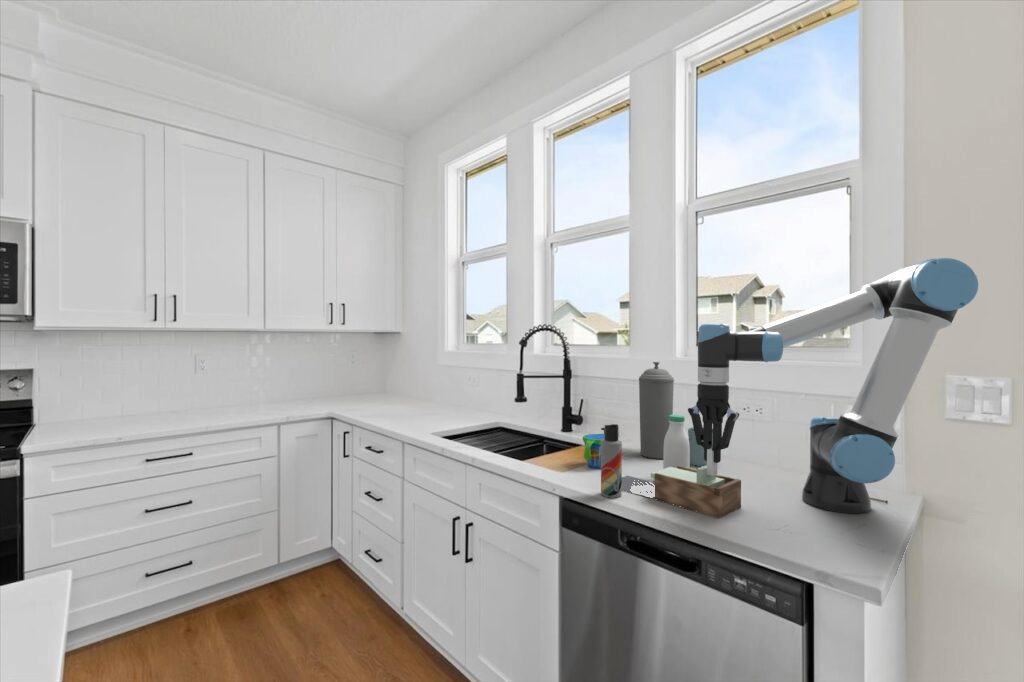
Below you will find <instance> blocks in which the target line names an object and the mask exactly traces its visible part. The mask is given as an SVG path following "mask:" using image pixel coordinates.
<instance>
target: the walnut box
mask: <svg viewBox="0 0 1024 682" xmlns="http://www.w3.org/2000/svg"><path fill="white" fill-rule="evenodd" d="M677 468H678V469H682V470H687V471H691V472H695V473H697V469H694V468H691V467H690V468H686V467H681V466H677ZM716 477H717V478H721V479H725V484H723V485H721V486H718V487H716V488H714V487H710V486H706V485H702V484H698V483H694V482H690V481H686V480H682V479H678V478H674V477H670V476H666V475H662V474H658V473H655V478H654V483H655V497H654V500H655V499H657V500H656V501H658V500H660V501H659V502H662V501H664V502H663V503H665V502H667V503H666V504H668V503H670V504H669V505H672V504H674V505H673V506H675V505H677V506H676V507H678V506H681V507H680V508H682V507H684V508H683V509H685V508H687V509H686V510H688V509H690V510H689V511H692V510H693V511H692V512H695V511H697V512H696V513H699V512H700V513H699V514H702V513H703V514H702V515H705V514H707V515H706V516H709V515H710V516H709V517H712V516H714V517H713V518H715V517H717V518H716V519H720V518H723V517H724V516H726V515H728V514H731V513H732V512H734V511H736V510H738V509H740V508H742V479H738V478H733V477H729V476H725V475H719V474H718V473H717V474H716Z"/></svg>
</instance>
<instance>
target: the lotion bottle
mask: <svg viewBox="0 0 1024 682" xmlns="http://www.w3.org/2000/svg"><path fill="white" fill-rule="evenodd" d="M603 432H604V433H603V434H604V439H605V440H602V441H601V468H600V494H601V496H603V497H605V498H608V497H610V498H609V499H616V498H615V497H617V498H620V497H622V477H623V473H622V471H623V469H622V468H623V467H622V466H623V464H622V463H623V460H622V459H623V457H622V455H623V453H622V452H623V448H622V447H623V444H622V443H623V442H622V441H621V440H619V424H618V423H617V424H615V423H611V424H605V425H604V431H603Z"/></svg>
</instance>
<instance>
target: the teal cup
mask: <svg viewBox="0 0 1024 682" xmlns="http://www.w3.org/2000/svg"><path fill="white" fill-rule="evenodd" d="M687 433H688V434H687V436H688V439H689V445H690V463H691V464H690V465H692V464H693V465H692V466H694V465H697V466H696V467H699V466H706V465H707V461H705V460H704V448H703V447H702V446H701V445H698V444H697V442H696V437H695V432H694V428H693V426H692V427H688V428H687ZM712 445H713V428H712ZM711 448H713V447H711Z"/></svg>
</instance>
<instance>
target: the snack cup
mask: <svg viewBox="0 0 1024 682" xmlns="http://www.w3.org/2000/svg"><path fill="white" fill-rule="evenodd" d="M582 440H583V442H584V452H583V458H584V459H585V460H586V464H587V466H588V467H591V468H594V469H601V441H602V440H605V439H604V433H603V434H602V433H589V434H588V433H587V434H584V435H583V436H582Z"/></svg>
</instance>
